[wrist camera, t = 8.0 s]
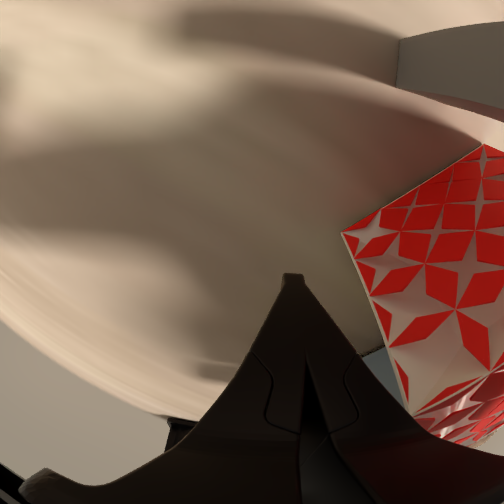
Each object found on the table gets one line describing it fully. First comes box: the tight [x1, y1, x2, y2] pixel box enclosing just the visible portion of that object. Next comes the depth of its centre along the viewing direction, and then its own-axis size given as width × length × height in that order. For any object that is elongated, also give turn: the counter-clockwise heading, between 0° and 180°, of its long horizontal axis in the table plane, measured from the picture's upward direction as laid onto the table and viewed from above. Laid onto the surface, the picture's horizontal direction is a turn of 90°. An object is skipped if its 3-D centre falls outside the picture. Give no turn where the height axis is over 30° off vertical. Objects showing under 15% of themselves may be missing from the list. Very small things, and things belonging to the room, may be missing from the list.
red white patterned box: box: [340, 144, 504, 447], centre depth 8 cm, size 8×8×8 cm
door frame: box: [396, 21, 504, 122], centre depth 10 cm, size 2×21×6 cm, turn 176°
